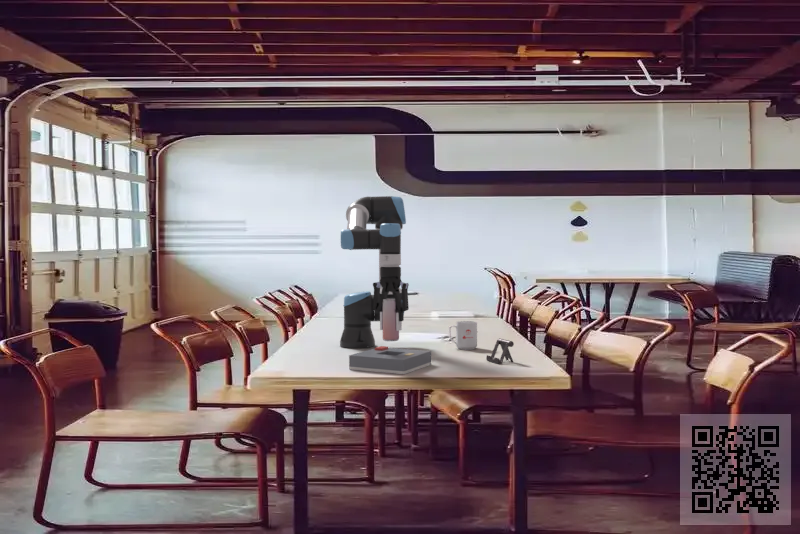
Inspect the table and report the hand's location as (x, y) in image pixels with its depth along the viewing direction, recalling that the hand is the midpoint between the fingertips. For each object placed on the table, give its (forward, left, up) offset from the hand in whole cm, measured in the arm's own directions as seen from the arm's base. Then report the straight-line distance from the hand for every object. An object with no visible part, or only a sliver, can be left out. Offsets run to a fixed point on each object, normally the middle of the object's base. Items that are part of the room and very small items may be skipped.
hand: (390, 329), depth 272 cm
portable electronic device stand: (+32, +28, -14) cm, 45 cm away
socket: (0, 0, -14) cm, 14 cm away
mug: (+6, +53, -14) cm, 55 cm away
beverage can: (0, 0, -4) cm, 4 cm away
